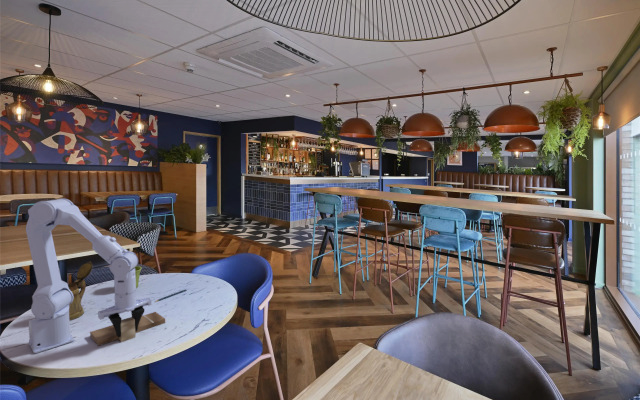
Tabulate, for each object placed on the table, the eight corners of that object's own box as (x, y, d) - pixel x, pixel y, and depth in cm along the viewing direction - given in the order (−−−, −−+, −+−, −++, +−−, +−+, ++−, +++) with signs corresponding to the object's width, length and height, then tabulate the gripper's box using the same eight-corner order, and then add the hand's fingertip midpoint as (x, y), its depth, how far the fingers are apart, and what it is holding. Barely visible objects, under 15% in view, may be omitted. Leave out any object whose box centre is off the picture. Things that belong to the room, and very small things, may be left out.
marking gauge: (121, 342, 98) (120, 323, 98) (112, 332, 104) (111, 315, 103) (135, 337, 102) (134, 319, 101) (125, 328, 107) (125, 311, 106)
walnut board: (98, 345, 96) (98, 340, 96) (90, 336, 101) (90, 331, 101) (165, 322, 111) (165, 318, 111) (155, 315, 117) (155, 311, 116)
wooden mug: (101, 308, 122) (99, 262, 120) (63, 323, 109) (60, 273, 107) (85, 304, 125) (83, 259, 123) (45, 319, 112) (43, 269, 110)
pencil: (186, 291, 141) (154, 303, 128) (185, 291, 141) (153, 302, 128) (186, 289, 141) (154, 301, 128) (185, 289, 141) (153, 300, 128)
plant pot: (134, 292, 138) (133, 272, 137) (112, 291, 138) (112, 272, 137) (146, 284, 147) (145, 266, 147) (126, 284, 147) (125, 265, 147)
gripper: (102, 302, 91) (104, 347, 93) (155, 288, 102) (156, 328, 104) (95, 295, 96) (96, 338, 97) (146, 283, 107) (147, 322, 108)
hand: (126, 333), depth 101 cm, fingers closed on marking gauge, 4 cm apart
